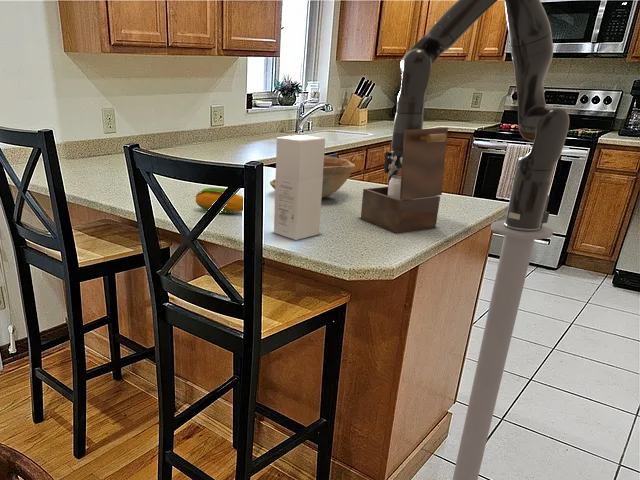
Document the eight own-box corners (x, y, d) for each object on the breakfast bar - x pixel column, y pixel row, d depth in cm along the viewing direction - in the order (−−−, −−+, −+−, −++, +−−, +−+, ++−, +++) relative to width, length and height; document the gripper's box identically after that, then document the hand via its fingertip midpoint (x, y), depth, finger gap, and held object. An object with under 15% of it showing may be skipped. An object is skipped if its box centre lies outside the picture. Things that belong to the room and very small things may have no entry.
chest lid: (404, 129, 133) (418, 130, 128) (445, 127, 138) (460, 127, 133) (399, 199, 139) (412, 201, 134) (439, 194, 144) (453, 196, 139)
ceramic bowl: (257, 184, 192) (266, 142, 187) (323, 193, 201) (333, 153, 195) (286, 205, 166) (296, 158, 161) (360, 214, 175) (373, 169, 169)
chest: (360, 218, 156) (363, 188, 152) (397, 213, 161) (400, 185, 157) (396, 233, 142) (400, 201, 139) (435, 227, 147) (440, 196, 143)
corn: (201, 182, 166) (260, 187, 159) (202, 205, 170) (260, 211, 162) (190, 188, 160) (251, 194, 153) (192, 212, 164) (251, 219, 156)
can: (399, 214, 155) (404, 173, 150) (412, 220, 150) (418, 178, 145) (380, 216, 153) (385, 175, 148) (393, 222, 148) (398, 179, 143)
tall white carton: (319, 234, 141) (325, 138, 131) (295, 240, 136) (300, 140, 126) (297, 227, 147) (301, 134, 137) (273, 232, 142) (276, 137, 132)
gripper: (379, 128, 146) (373, 188, 153) (414, 134, 134) (406, 198, 141) (401, 127, 149) (394, 186, 156) (437, 132, 137) (427, 196, 144)
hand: (399, 191), depth 148 cm, fingers closed on can, 6 cm apart
